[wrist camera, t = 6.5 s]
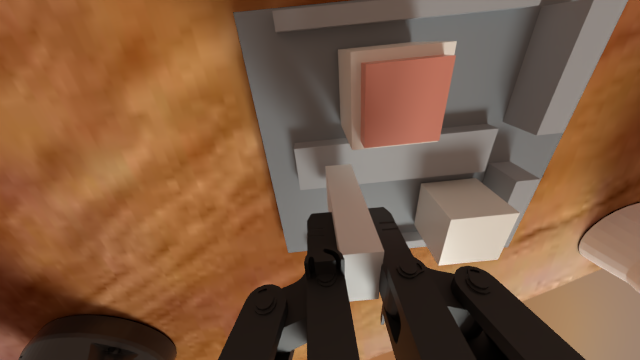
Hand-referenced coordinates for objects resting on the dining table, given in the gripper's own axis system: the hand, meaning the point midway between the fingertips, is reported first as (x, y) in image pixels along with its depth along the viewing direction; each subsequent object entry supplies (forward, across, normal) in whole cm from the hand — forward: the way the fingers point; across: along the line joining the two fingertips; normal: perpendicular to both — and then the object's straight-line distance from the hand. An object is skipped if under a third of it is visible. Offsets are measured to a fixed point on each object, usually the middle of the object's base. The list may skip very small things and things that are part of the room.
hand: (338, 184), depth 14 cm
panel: (+4, +6, +1) cm, 8 cm away
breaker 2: (+2, +8, -4) cm, 9 cm away
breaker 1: (+2, +2, +5) cm, 6 cm away
